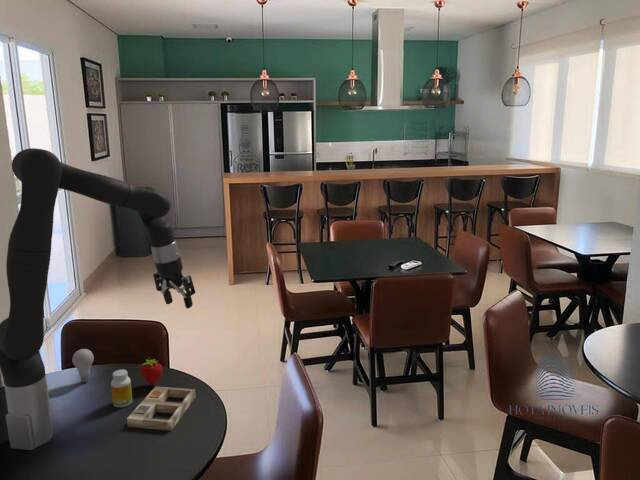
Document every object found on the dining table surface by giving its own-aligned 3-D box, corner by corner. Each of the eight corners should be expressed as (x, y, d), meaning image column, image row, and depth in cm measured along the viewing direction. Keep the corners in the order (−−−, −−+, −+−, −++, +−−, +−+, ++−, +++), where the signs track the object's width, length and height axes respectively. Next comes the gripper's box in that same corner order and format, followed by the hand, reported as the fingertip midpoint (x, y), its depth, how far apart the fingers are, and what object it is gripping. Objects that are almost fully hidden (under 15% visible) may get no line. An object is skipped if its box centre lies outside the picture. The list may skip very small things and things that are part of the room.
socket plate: (171, 430, 139) (170, 421, 138) (127, 426, 141) (126, 417, 140) (195, 396, 156) (195, 388, 155) (156, 393, 158) (155, 385, 157)
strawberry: (154, 392, 158) (151, 362, 156) (136, 386, 162) (134, 357, 159) (168, 384, 163) (166, 355, 161) (151, 378, 167) (148, 350, 165)
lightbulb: (81, 388, 161) (77, 355, 158) (71, 382, 164) (67, 350, 162) (99, 380, 165) (96, 349, 163) (89, 375, 169) (86, 344, 166)
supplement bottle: (131, 406, 151) (128, 376, 148) (111, 408, 150) (108, 378, 147) (133, 397, 156) (130, 367, 154) (114, 399, 155) (111, 369, 152)
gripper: (140, 259, 154) (154, 307, 160) (174, 264, 147) (187, 314, 152) (159, 250, 160) (172, 296, 166) (193, 254, 152) (204, 302, 158)
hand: (179, 305), depth 159 cm, fingers open, 8 cm apart
